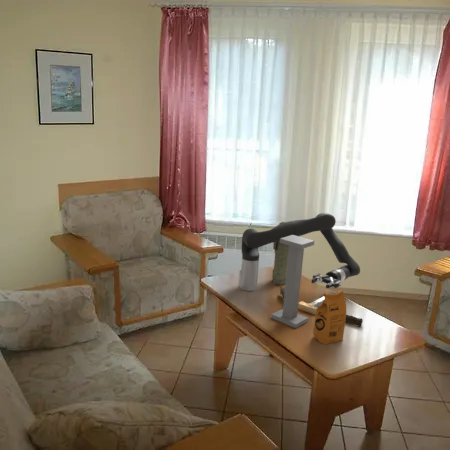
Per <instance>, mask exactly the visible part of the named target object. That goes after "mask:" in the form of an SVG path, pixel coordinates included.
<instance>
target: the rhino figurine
mask: <svg viewBox="0 0 450 450" xmlns="http://www.w3.org/2000/svg"><path fill="white" fill-rule="evenodd" d="M279 292H280V293H279V294H280V295H281V296H282V297H281V300H284V293H285V286H284V287H281V286H280V287H279Z"/></svg>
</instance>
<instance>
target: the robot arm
mask: <svg viewBox="0 0 450 450" xmlns="http://www.w3.org/2000/svg"><path fill="white" fill-rule="evenodd" d="M336 221H337V220H336V218H335V216H334V215H332V214H331V213H329V212H324V213H323V212H321V213H319V214H317V215H316V216H315V217H311V218H306V219H296V220H295V219H294V220H290V221H284V222H285V223H282V224H279V223H278V225H276V226H274V227H272V228H271V229H268V230H263V231H258V230H256V229H254V228H247V229H245V230H244V231H243V233H242V236H241V256H242V257H241V270H239V279H238V288H240V289H241V290H242V291H247V292H253V291H256V290H257V289H258V279H259V278H258V277H259V266H260V265H259V264H260V252H259V248H261V247H264V246H267V245H269V244H272V243H274V242H278V241H280V238H283V237H287V236H290V235H295V236H299V237H302V236H305V235H308V234H311V233H315V232H320V233H321V235H323V237H324V239H325V240H326V241H327V244H328V245H329V246H330V248H331V250H332V252H333V253H334V256H335V257H336V259H337V261H338V263H340V264H345V265H342V266H339V268H336V269H332V270H330V271H328V272H326V273H325V274H324V275H321V273H316V274H314V275H312V279H311V280H310V281H311V284H315V283H317V282H318V283H322V284H326V286H325V288H326V289H330V288H334V289H337V288H340V287H341V285H342V282H343V281H345V280H347V279H348V278H351V277H354V276H358V275H359V274H360V273H361V267H360V265H359V264H358V262H356V260H355V259H354V258H353V256H351V255H350V253H349V251H348V249H347V247H346V246H345V245H344V242H342V240H341V239H340V238H339V237H338V235H337V234H336V232H335V231H334V229H333V227H334V226H335V224H336V223H337V222H336Z"/></svg>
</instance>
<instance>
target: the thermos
mask: <svg viewBox="0 0 450 450" xmlns="http://www.w3.org/2000/svg"><path fill="white" fill-rule="evenodd" d="M285 222H286V221H282V222H279V223H278V225H279V224H282V223H285ZM272 247H273V250H274V252H273V253H274V262H273V263H274V264H273V269H272V273H271V274H272V276H271V277H272V281H271V282H272V283H273V284H275V285H277V286H278V285H280V286H282V285H284V286H285V283H286V272H287V261H288V251H289V245H286V244H283V243H280V241H278V242H273V244H272Z"/></svg>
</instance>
